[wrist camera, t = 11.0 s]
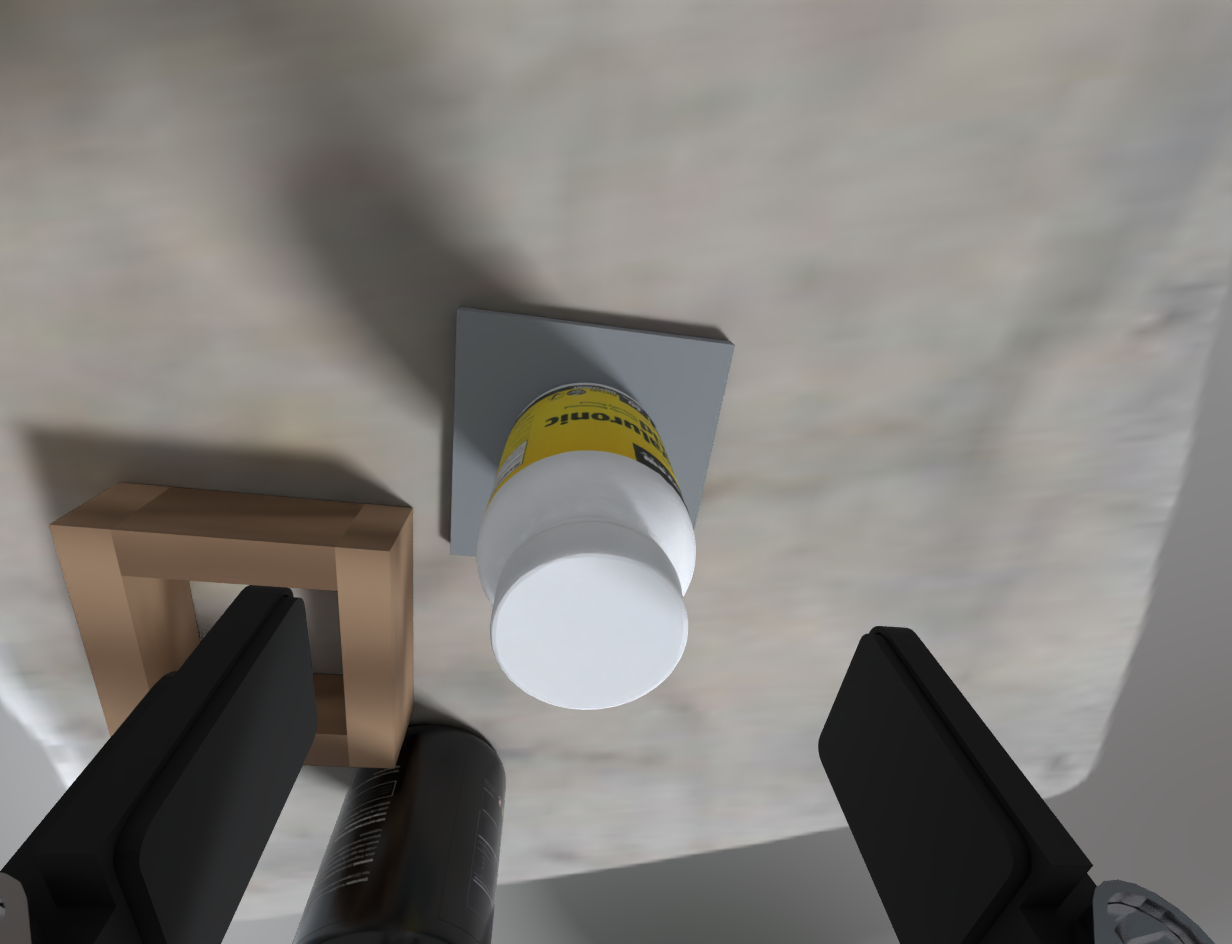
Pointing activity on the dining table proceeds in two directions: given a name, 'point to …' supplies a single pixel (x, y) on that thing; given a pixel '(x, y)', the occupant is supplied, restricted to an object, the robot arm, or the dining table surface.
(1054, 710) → the dining table surface
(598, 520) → the supplement bottle
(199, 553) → the walnut collar
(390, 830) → the supplement bottle
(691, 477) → the slate mat
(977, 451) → the dining table surface
